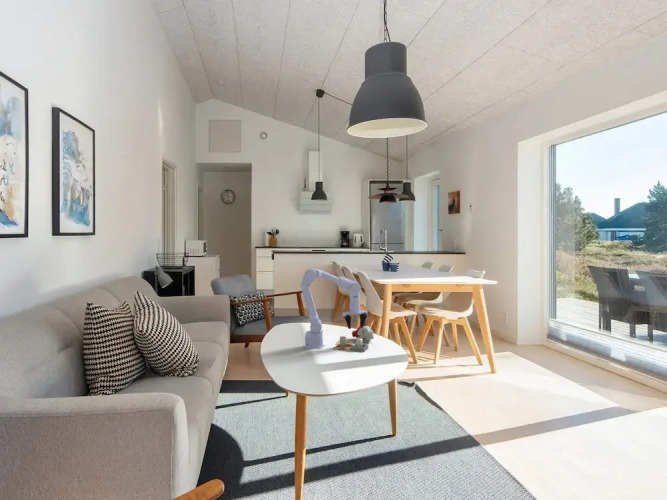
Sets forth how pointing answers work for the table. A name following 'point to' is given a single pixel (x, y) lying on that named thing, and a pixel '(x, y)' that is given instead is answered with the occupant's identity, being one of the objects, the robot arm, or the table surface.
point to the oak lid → (346, 342)
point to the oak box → (347, 348)
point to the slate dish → (363, 349)
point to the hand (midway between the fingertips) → (355, 328)
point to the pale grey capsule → (359, 342)
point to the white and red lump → (363, 333)
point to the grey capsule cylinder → (342, 341)
